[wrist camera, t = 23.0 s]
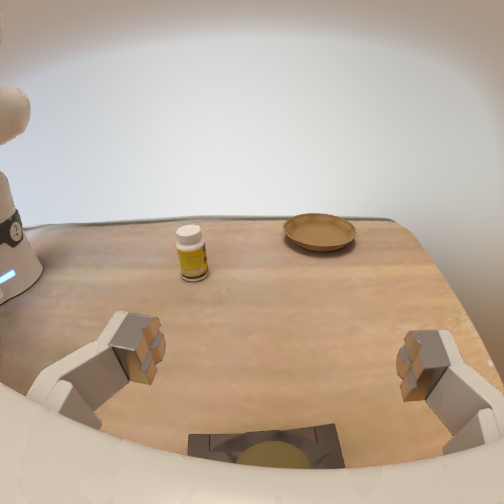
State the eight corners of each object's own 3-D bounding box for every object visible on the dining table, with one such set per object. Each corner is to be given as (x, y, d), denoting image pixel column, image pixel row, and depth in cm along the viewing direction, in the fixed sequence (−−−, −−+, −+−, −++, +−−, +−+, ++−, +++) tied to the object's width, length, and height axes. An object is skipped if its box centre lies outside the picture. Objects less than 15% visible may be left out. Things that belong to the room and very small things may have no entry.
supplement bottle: (212, 278, 50) (206, 232, 46) (184, 285, 48) (176, 239, 44) (204, 263, 54) (198, 221, 49) (178, 270, 52) (171, 227, 48)
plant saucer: (275, 252, 56) (275, 240, 55) (290, 220, 68) (290, 209, 67) (354, 262, 52) (356, 250, 51) (354, 228, 65) (356, 217, 63)
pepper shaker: (221, 497, 20) (201, 463, 14) (272, 462, 23) (276, 411, 18) (266, 540, 16) (268, 532, 10) (317, 500, 19) (345, 467, 14)
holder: (188, 566, 13) (183, 567, 12) (191, 440, 25) (187, 432, 24) (358, 551, 14) (364, 550, 13) (331, 429, 26) (335, 421, 25)
